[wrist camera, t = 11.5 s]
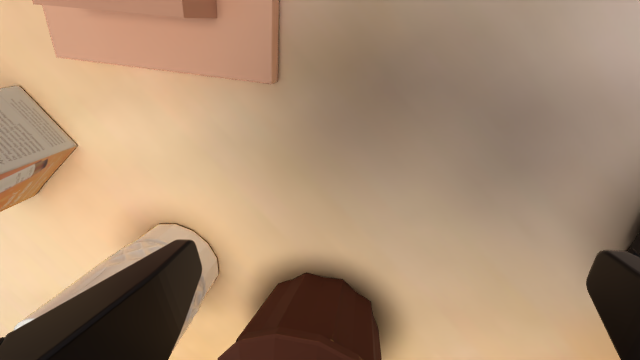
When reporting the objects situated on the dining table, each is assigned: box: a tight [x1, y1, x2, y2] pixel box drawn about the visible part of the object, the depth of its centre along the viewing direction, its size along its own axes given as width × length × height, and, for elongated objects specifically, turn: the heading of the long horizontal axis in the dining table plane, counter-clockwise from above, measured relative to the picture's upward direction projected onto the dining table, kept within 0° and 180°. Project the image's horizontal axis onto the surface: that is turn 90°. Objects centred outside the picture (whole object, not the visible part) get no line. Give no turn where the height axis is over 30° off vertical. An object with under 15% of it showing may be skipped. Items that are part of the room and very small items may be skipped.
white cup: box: [13, 224, 218, 351], centre depth 23 cm, size 8×8×10 cm
